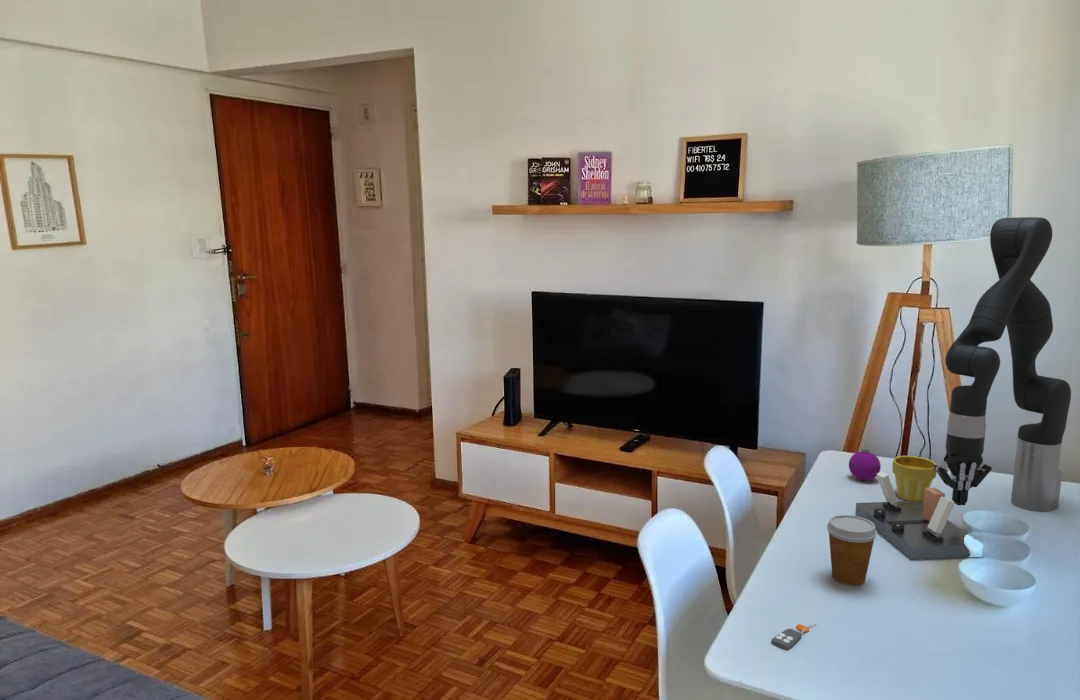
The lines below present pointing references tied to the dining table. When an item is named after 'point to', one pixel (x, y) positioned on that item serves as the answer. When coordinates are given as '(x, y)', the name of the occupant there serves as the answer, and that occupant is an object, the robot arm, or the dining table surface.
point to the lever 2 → (940, 516)
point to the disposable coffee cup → (850, 547)
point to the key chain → (790, 637)
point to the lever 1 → (887, 488)
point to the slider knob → (931, 502)
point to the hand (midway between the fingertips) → (959, 504)
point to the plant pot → (913, 476)
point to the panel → (913, 530)
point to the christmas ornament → (864, 465)
